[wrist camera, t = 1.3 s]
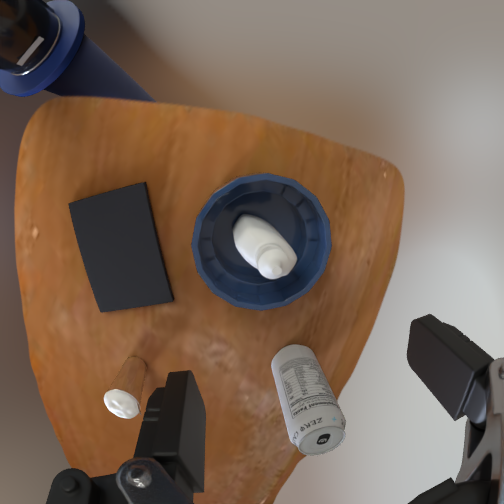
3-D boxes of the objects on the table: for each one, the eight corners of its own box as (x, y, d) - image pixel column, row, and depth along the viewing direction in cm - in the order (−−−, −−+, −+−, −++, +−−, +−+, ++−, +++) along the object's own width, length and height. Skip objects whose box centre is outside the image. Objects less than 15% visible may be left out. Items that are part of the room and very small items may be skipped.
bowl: (186, 185, 30) (179, 189, 25) (306, 165, 31) (322, 165, 26) (210, 297, 34) (209, 320, 29) (319, 276, 35) (335, 295, 29)
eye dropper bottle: (251, 264, 33) (267, 314, 22) (227, 221, 32) (230, 252, 20) (286, 246, 33) (318, 287, 21) (263, 202, 31) (287, 221, 20)
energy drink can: (267, 375, 38) (287, 461, 24) (273, 340, 37) (299, 427, 22) (308, 374, 39) (340, 454, 25) (317, 340, 37) (358, 420, 23)
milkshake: (161, 374, 37) (149, 426, 27) (129, 378, 37) (111, 428, 27) (148, 348, 35) (131, 400, 26) (115, 354, 35) (92, 402, 26)
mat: (71, 202, 29) (68, 203, 28) (146, 181, 30) (144, 182, 29) (102, 310, 33) (100, 312, 33) (174, 298, 34) (173, 301, 33)
